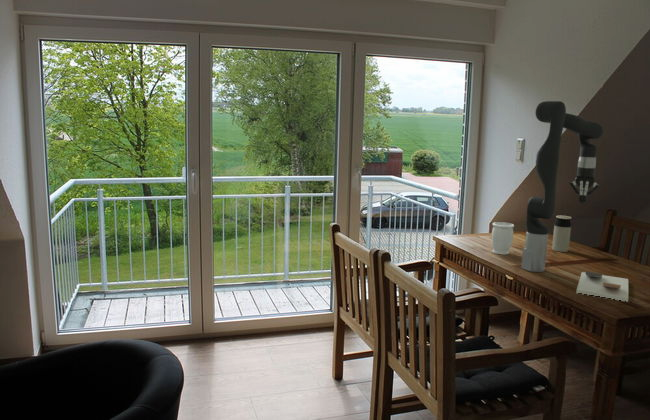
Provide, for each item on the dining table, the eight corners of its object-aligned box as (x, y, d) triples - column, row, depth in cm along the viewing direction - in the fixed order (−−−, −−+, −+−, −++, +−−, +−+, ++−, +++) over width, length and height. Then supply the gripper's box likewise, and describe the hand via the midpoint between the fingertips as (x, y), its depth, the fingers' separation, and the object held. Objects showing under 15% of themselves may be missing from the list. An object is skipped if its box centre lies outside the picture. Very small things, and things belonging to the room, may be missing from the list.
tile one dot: (586, 272, 234) (586, 271, 225) (602, 274, 231) (602, 273, 223) (586, 275, 234) (585, 275, 225) (601, 278, 231) (601, 277, 222)
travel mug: (569, 252, 278) (573, 218, 275) (552, 251, 280) (556, 217, 277) (567, 249, 286) (571, 216, 283) (551, 247, 288) (554, 214, 285)
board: (581, 275, 239) (581, 271, 239) (627, 282, 231) (628, 279, 230) (576, 293, 214) (576, 289, 214) (627, 302, 206) (628, 298, 205)
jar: (504, 256, 267) (507, 227, 264) (485, 252, 275) (488, 223, 272) (515, 253, 274) (518, 224, 271) (497, 249, 282) (499, 221, 279)
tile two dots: (603, 282, 220) (603, 282, 211) (620, 285, 217) (620, 285, 208) (603, 286, 220) (602, 286, 211) (619, 289, 217) (620, 288, 208)
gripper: (570, 166, 253) (566, 202, 256) (601, 168, 247) (597, 205, 250) (571, 165, 259) (567, 200, 262) (602, 167, 253) (598, 203, 256)
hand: (582, 202), depth 256 cm, fingers closed
